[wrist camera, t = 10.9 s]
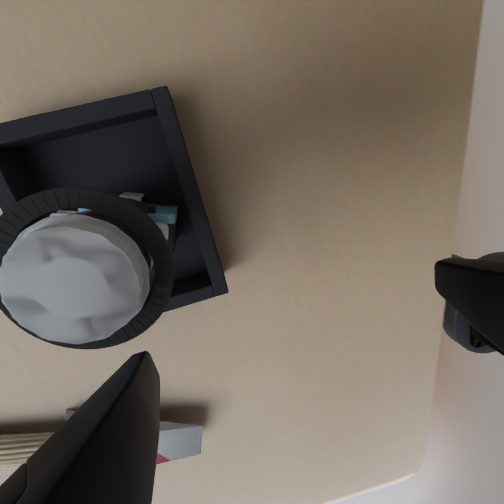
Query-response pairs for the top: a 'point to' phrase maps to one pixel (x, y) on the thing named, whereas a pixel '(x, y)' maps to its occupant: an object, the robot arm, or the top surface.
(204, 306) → the top surface
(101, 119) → the black hollow square tray
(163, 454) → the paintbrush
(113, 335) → the push button
